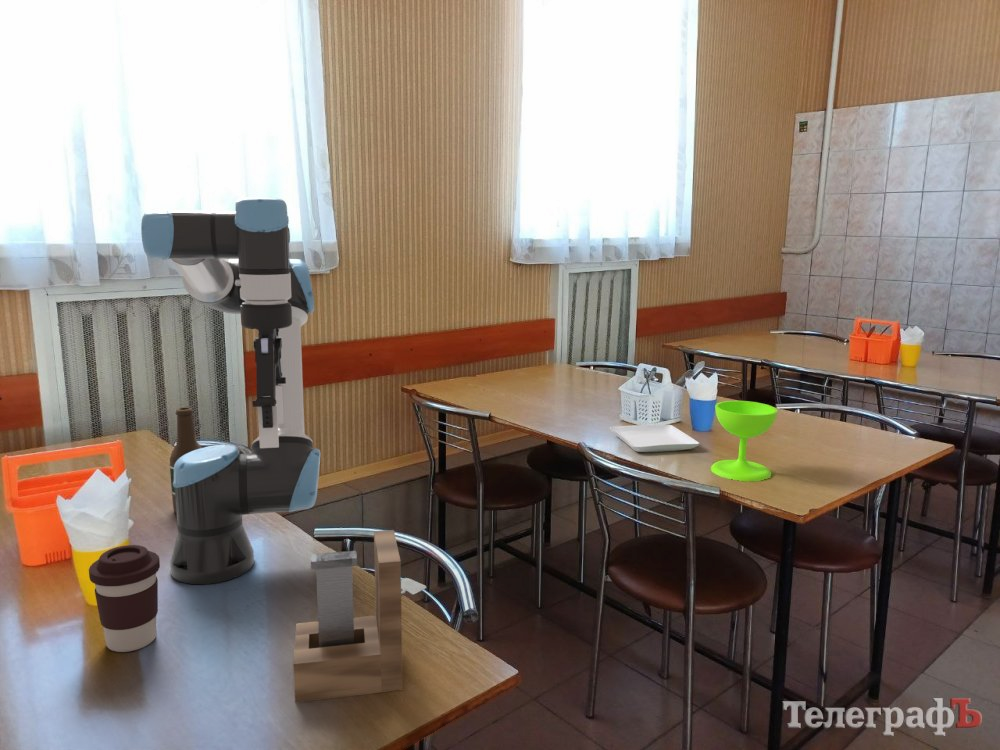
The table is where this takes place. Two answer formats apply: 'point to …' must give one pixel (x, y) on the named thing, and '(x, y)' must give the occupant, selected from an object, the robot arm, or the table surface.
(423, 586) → the mounting bracket
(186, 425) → the beer bottle
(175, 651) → the table surface
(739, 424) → the wineglass
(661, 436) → the salad plate
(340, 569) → the rail
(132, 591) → the coffee cup
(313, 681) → the slotted wooden l-bracket
